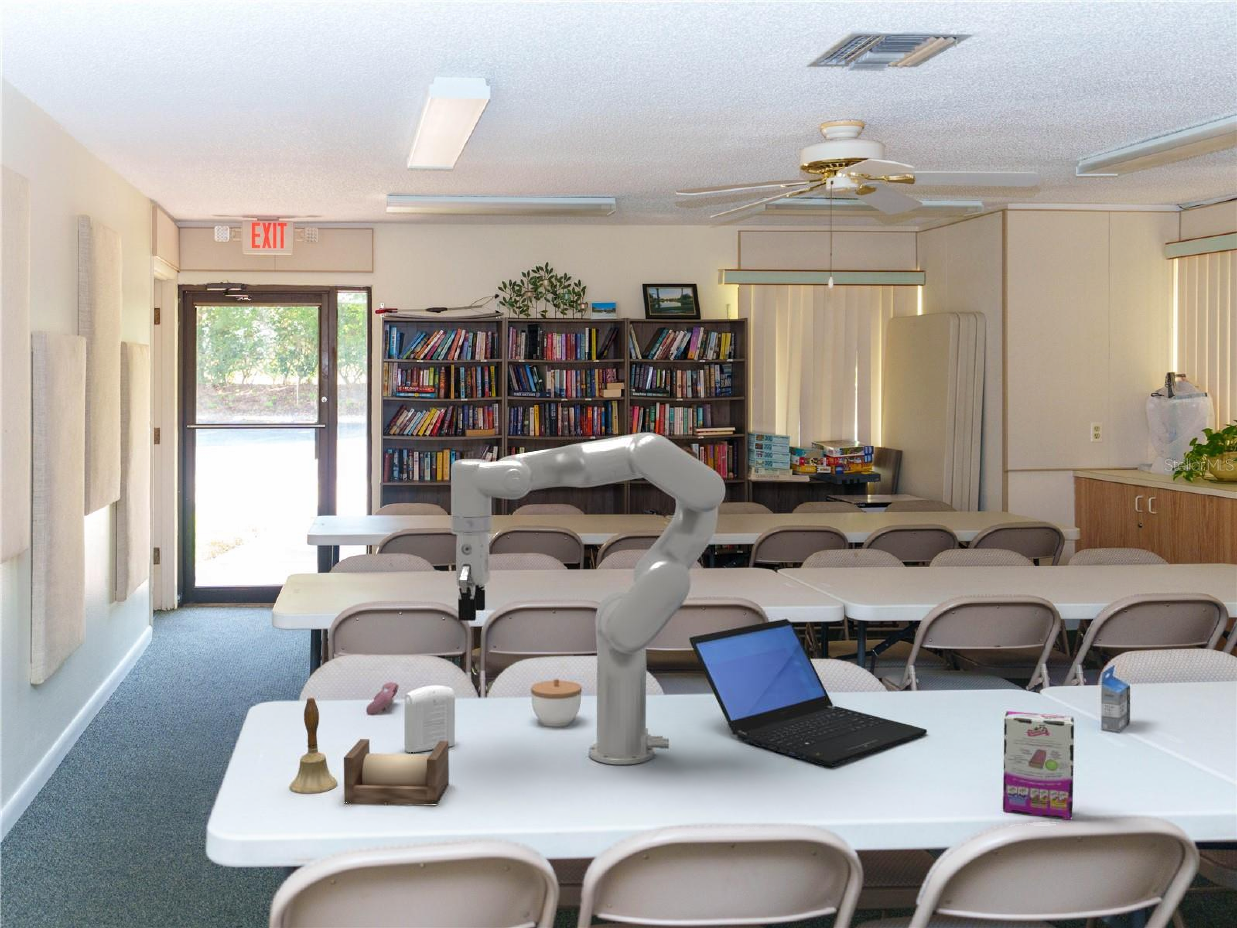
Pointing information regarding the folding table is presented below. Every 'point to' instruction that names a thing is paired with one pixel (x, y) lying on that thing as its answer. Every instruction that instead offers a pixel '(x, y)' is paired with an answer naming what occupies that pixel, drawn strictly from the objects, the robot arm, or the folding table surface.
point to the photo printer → (429, 718)
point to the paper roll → (395, 770)
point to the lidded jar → (556, 702)
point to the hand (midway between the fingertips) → (472, 615)
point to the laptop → (787, 697)
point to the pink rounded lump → (383, 698)
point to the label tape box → (1114, 703)
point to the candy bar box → (1038, 764)
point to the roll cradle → (395, 794)
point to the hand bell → (312, 759)
